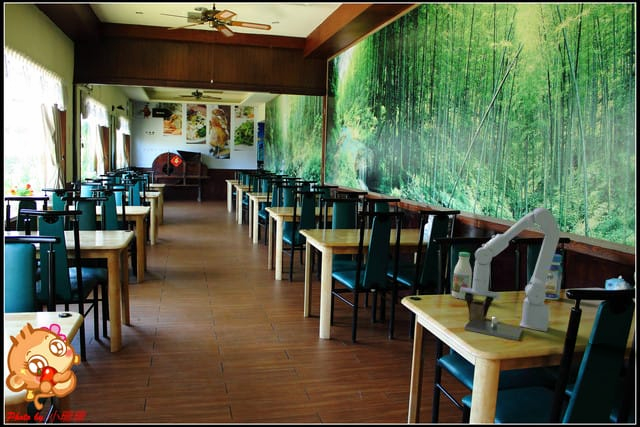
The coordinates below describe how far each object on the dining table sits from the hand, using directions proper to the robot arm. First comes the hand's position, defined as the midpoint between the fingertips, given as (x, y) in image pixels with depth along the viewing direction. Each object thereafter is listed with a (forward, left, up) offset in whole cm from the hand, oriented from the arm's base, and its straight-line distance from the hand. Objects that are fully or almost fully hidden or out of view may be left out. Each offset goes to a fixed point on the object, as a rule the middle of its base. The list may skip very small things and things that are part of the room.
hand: (477, 314), depth 201 cm
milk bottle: (+13, -29, -2) cm, 32 cm away
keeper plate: (-8, +11, -2) cm, 14 cm away
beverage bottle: (-21, -58, -2) cm, 62 cm away
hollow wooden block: (0, 0, -2) cm, 2 cm away
